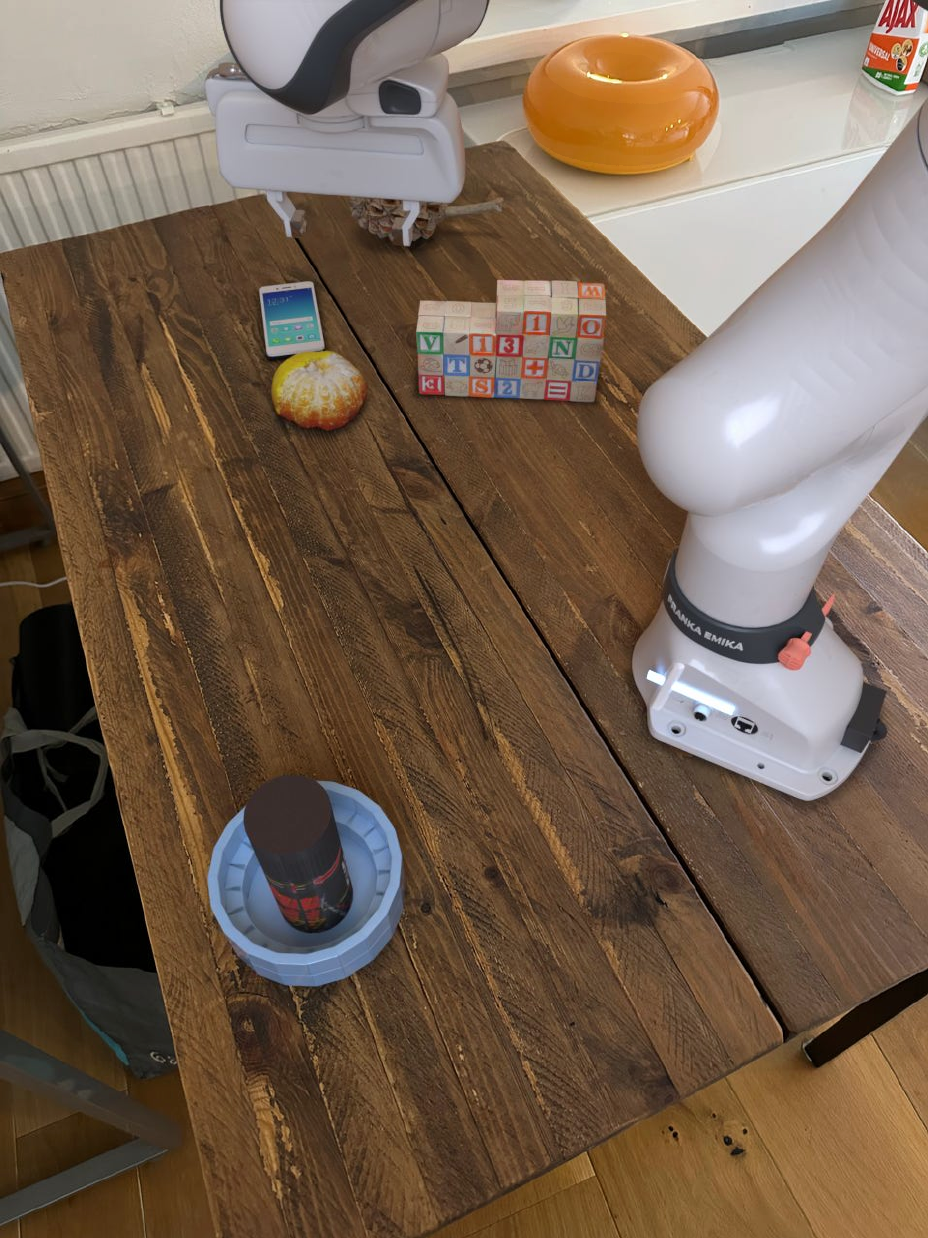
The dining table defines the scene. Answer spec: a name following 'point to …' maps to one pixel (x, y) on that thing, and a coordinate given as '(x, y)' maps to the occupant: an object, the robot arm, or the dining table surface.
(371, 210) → the pine cone
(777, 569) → the robot arm
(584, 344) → the stack of blocks
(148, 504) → the dining table surface
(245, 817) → the deodorant
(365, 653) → the dining table surface
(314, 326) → the smartphone
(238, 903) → the bowl
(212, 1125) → the dining table surface
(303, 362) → the fruit
